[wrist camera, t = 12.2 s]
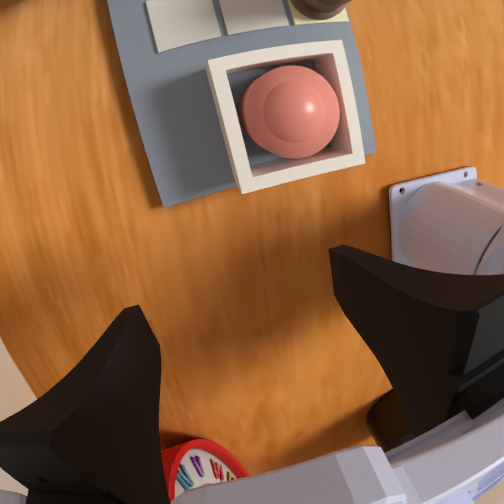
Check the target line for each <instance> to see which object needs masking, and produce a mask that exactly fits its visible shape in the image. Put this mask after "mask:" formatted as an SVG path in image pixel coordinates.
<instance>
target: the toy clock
mask: <svg viewBox="0 0 504 504" xmlns="http://www.w3.org/2000/svg"><path fill="white" fill-rule="evenodd" d="M161 455H162V462H163V469H164V474H165V480H166V485H167V490H168V494H169V498H170V502H171V501H173V500H174V499H175V498H176V497H178V496H179V495H180V494H181V493H182V492H184V491H185V490H188V489H192V488H196V487H200V486H203V485H207V484H213V483H218V482H224V481H229V480H234V479H239V478H244V477H248V476H249V475H248V473H247V472H246V471H245V469H244V468H243V467H242V466H241V465H240V463H239V462H238V461H237V460H236V459H235V458H234V457H233V456H232V455H231V454H230V453H229V452H228V451H226V450H225V449H224V448H223V447H221V446H219V445H218V444H216V443H215V442H212V441H209V440H206V439H196V440H191V441H188V442H185V443H182V444H179V445H176V446H173V447H170V448H167V449H163V450H161Z"/></svg>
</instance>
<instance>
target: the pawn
mask: <svg viewBox="0 0 504 504" xmlns="http://www.w3.org/2000/svg"><path fill="white" fill-rule="evenodd" d="M290 1H291V3H292V5H293V6H294V7H295V9H296V10H297V11H298V12H300V13H301V14H303V15H304V16H306V17H308V18H311V19H315V20H327V19H330V18H332V17H334V16H336V15H337V14H339V13H340V12H342V10H343V9H344V8H345V6H346V3H348V2H350V1H351V0H290Z"/></svg>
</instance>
